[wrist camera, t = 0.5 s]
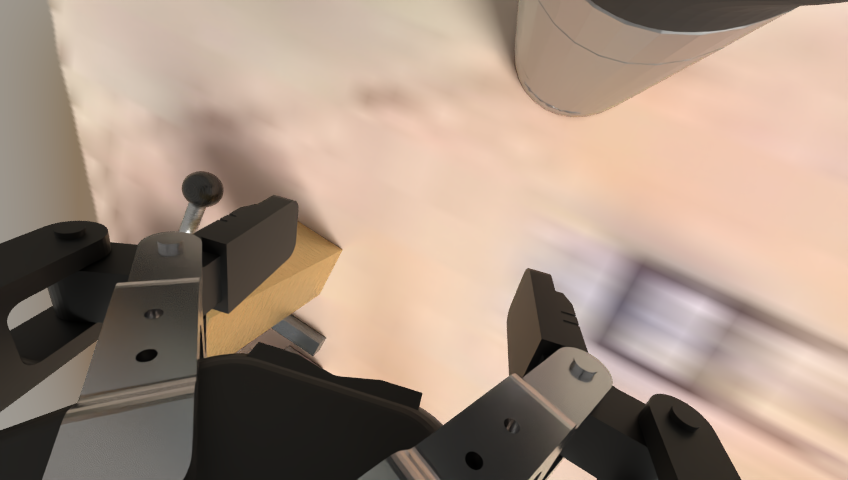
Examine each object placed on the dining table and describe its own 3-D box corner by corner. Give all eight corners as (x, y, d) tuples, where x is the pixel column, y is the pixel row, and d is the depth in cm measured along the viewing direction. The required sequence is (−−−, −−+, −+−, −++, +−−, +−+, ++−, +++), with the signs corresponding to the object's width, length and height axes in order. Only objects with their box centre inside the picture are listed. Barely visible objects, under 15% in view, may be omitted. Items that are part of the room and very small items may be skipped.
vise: (233, 163, 33) (157, 163, 26) (373, 251, 31) (333, 277, 24) (158, 359, 39) (80, 402, 32) (270, 438, 38) (216, 501, 31)
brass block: (296, 220, 33) (130, 263, 18) (342, 249, 32) (210, 318, 18) (275, 265, 34) (106, 338, 20) (319, 294, 34) (179, 391, 19)
